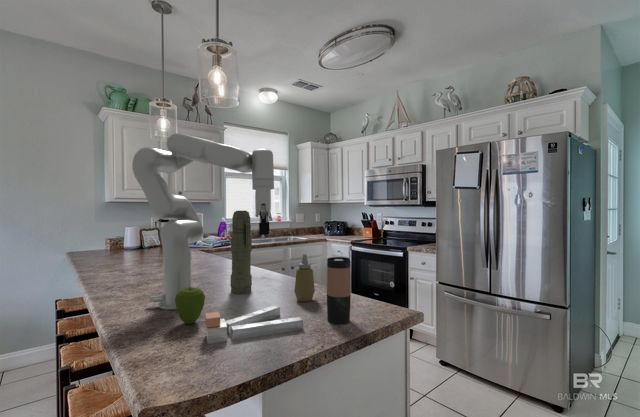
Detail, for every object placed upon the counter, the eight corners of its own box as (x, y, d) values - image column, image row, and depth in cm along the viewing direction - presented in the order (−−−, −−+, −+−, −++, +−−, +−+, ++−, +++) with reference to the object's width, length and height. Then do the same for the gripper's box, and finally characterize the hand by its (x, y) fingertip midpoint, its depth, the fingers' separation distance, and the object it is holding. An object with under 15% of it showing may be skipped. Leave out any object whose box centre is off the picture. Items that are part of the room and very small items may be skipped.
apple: (175, 330, 94) (175, 291, 94) (174, 321, 102) (174, 285, 102) (206, 325, 98) (206, 288, 98) (202, 317, 106) (203, 282, 106)
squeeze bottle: (312, 303, 121) (312, 256, 121) (291, 302, 122) (291, 255, 122) (316, 297, 129) (316, 253, 129) (297, 296, 130) (297, 252, 130)
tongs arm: (228, 334, 91) (228, 324, 91) (222, 331, 93) (222, 322, 93) (279, 315, 108) (279, 307, 108) (274, 313, 109) (274, 305, 109)
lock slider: (206, 327, 85) (206, 318, 85) (205, 321, 90) (205, 313, 90) (220, 325, 87) (220, 317, 87) (218, 320, 91) (218, 311, 91)
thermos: (241, 296, 130) (242, 210, 130) (224, 291, 138) (224, 210, 138) (258, 291, 137) (258, 210, 137) (240, 287, 145) (240, 210, 145)
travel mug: (352, 318, 105) (353, 257, 105) (347, 326, 98) (347, 261, 98) (330, 315, 107) (330, 256, 107) (323, 323, 100) (323, 259, 100)
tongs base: (207, 344, 85) (207, 329, 85) (206, 334, 91) (206, 320, 91) (303, 329, 95) (303, 316, 95) (295, 321, 101) (295, 309, 101)
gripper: (254, 187, 120) (255, 232, 120) (250, 183, 103) (251, 236, 103) (274, 186, 121) (275, 231, 121) (273, 182, 104) (275, 235, 104)
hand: (264, 233), depth 112 cm, fingers open, 9 cm apart
